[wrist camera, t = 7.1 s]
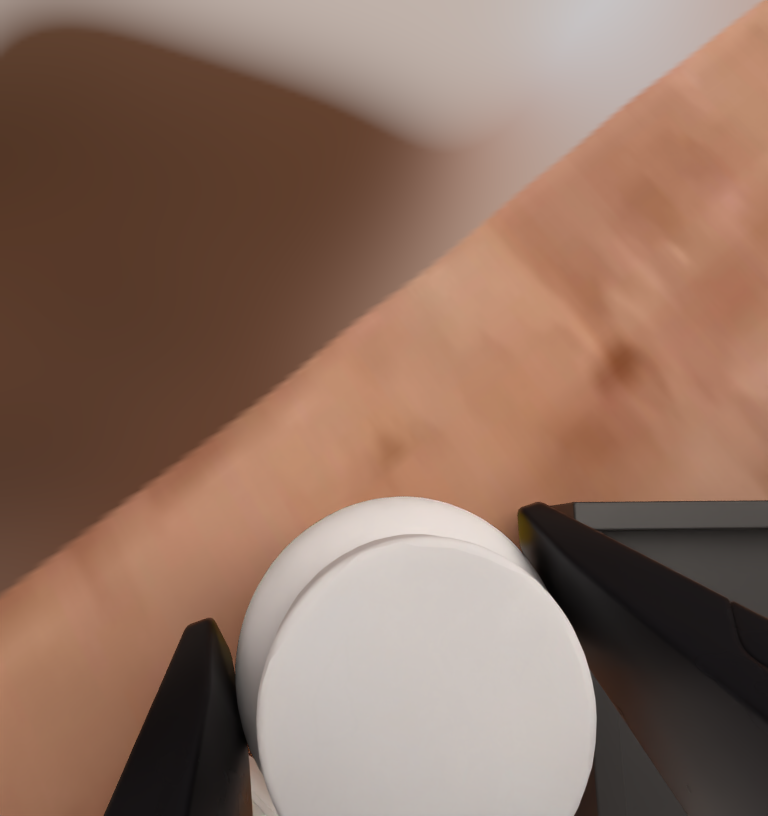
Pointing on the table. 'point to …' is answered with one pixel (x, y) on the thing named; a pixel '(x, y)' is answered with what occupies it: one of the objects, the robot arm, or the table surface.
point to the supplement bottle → (413, 672)
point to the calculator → (260, 793)
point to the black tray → (698, 560)
